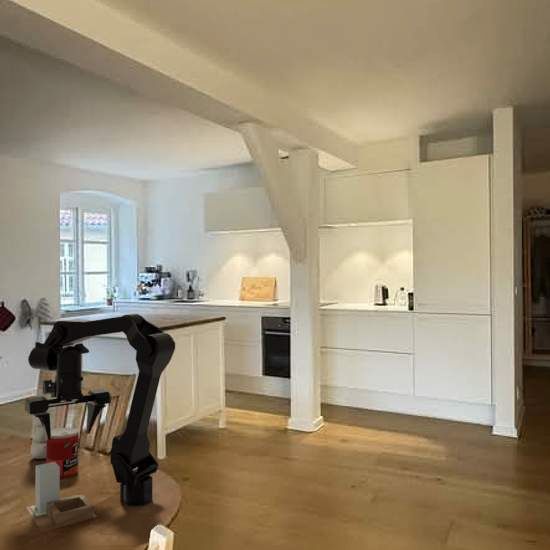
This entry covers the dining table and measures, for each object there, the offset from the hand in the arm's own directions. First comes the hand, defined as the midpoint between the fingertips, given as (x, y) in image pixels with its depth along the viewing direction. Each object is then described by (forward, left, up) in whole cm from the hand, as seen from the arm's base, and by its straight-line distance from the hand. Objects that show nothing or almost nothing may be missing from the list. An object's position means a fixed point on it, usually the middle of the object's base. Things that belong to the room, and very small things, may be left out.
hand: (68, 436), depth 127 cm
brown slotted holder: (-9, +11, -13) cm, 19 cm away
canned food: (+10, -8, -13) cm, 18 cm away
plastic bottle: (+24, -15, -13) cm, 31 cm away
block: (-5, +11, -12) cm, 17 cm away
